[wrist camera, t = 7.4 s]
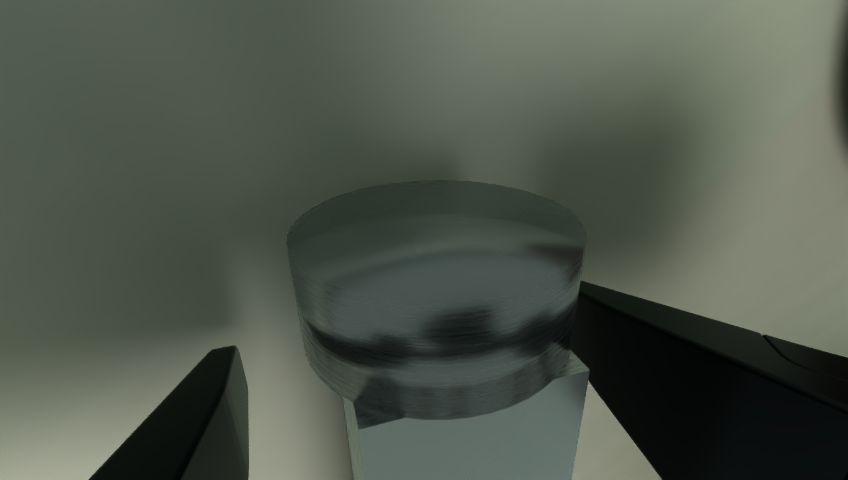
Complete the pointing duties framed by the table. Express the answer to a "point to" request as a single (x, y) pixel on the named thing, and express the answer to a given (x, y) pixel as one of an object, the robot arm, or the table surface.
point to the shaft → (446, 328)
